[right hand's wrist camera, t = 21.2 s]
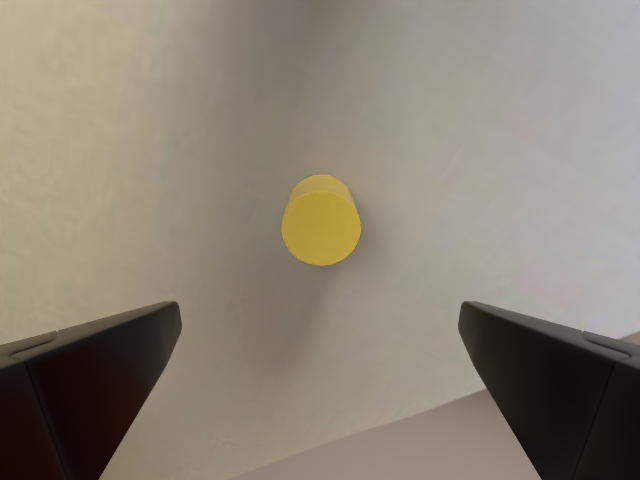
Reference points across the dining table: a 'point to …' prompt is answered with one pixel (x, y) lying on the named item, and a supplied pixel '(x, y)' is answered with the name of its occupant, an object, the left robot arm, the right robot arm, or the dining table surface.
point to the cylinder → (321, 221)
